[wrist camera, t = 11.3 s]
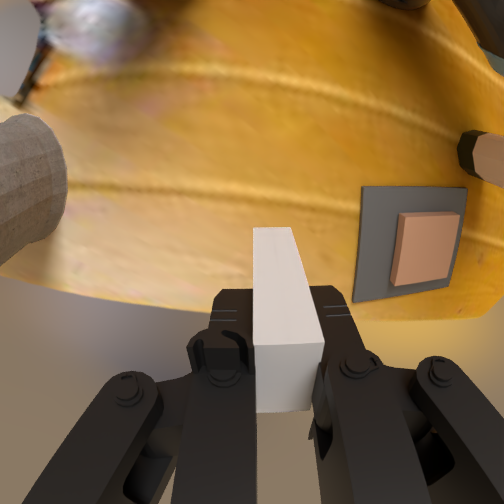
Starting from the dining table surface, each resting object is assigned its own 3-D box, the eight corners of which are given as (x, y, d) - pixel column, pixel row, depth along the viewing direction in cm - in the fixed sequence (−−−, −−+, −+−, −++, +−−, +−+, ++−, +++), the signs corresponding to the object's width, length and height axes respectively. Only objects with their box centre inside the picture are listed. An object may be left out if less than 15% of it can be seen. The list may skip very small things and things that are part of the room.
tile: (394, 286, 43) (446, 277, 43) (405, 217, 38) (459, 215, 38) (388, 279, 45) (440, 271, 45) (398, 212, 40) (451, 210, 40)
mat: (351, 300, 48) (353, 302, 47) (361, 186, 39) (363, 187, 38) (446, 284, 48) (448, 286, 47) (465, 187, 39) (467, 189, 38)
